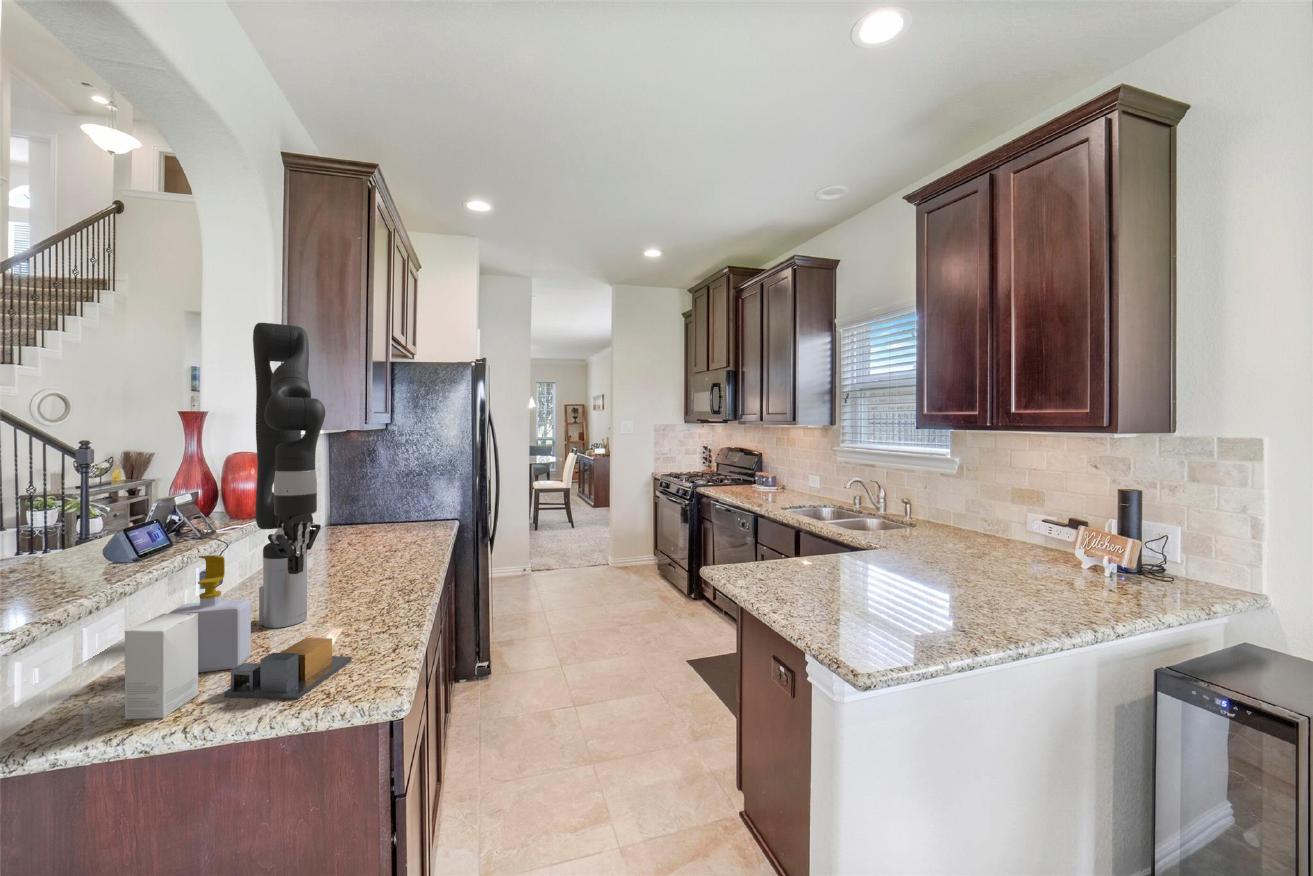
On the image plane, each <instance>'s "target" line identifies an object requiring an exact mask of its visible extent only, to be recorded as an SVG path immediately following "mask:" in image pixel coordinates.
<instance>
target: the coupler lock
mask: <svg viewBox="0 0 1313 876" xmlns="http://www.w3.org/2000/svg"><path fill="white" fill-rule="evenodd" d="M279 653H298V662H299V663H300V680H302V681H305V680H307V679H308V678H310V677H311V676H313V675H314V674H316V673H317V672H319V671H320V670H322V669H323V668H324V667H326V666H327V665H329V664H330V663H332V656H333V638H330V637H329V638H326V637H324V638H322V637H305V638H303V639H302V640H300V641H298V642H296V643H294V644H293V645H291V646H288V647H287V648H286V649H284V650H282V651H280V652H279Z"/></svg>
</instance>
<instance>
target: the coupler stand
mask: <svg viewBox="0 0 1313 876" xmlns="http://www.w3.org/2000/svg"><path fill="white" fill-rule="evenodd" d="M351 662H352V656H348V655H347V656H346V655H345V656H341V655H332V663H330V664H329V665H327V666H326V667H324V668H323V669H322V670H320V671H319V672H317V673H316V674H314V675H313V676H311V677H310V678H308V679H307V680H305V681H302V680H300V663H299V662H298V653H280V652H271V653H269V654H267V655H266V656H264V657H262V658H261V659H260V663H259V662H257V663H256V662H252V663H251V662H244V663H243V664H241V665H239V666H237V667H236V668H234V669H230V688H228V689H226V690H224V692H223V694H224V695H223V698H237V699H238V698H240V699H241V698H242V699H243V698H244V699H273V700H276V699H277V700H300V699H302V697H303V696H305V695H306V694H309V692H310V691H312V690H313V689H315V688H316V687H317V686H319V685H320V684H323V682H324V681H326V680H327V679H329V678H330V677H332V676H334V674H335V673H338V672H339V670H341V669H342V668H344V667H345V666H347V665H348V664H350V663H351ZM247 675H250V684H249V683H247V681H246V676H247Z"/></svg>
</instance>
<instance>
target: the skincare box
mask: <svg viewBox="0 0 1313 876" xmlns="http://www.w3.org/2000/svg"><path fill="white" fill-rule="evenodd" d="M198 695H199V672H198V613H176V614H168V613H162V614H159V615H157V616H155V617H153V618H151V619H148V620H147V621H144V622H142V623H140V624H137V625H134V626H132V627H131V628H129V629H126V630H124V718H125V719H124V720H147V719H149V720H150V719H151V720H152V719H153V720H155V719H157V720H158V719H165V718H167V716H169V715H171V714H172V713H173V712H174V711H176V710H178V709H179V708H181V707H182V706H184V705H185V704H187V703H188V702H189V701H191V700H193V699H194V698H195V697H197V696H198Z"/></svg>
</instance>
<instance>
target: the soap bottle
mask: <svg viewBox="0 0 1313 876" xmlns="http://www.w3.org/2000/svg"><path fill="white" fill-rule="evenodd" d="M198 558H199V559H203V560H205V577H204V578H203V579H200V580H198V581H197V584H198V585H201V588H204V592H202V593H200V594H199V602H190V603H184V604H182V605H179V606H178V607H176V608H175V609H173V610H171V611H169V612H167V614H176V613H198V673H204V672H205V673H207V672H214V671H215V672H216V671H222V670H223V671H224V670H232V669H234V668H236V667H237V666H239V665H241V664H243V663H246V661H247V660H248V659H249V658H250V656H251V655H252V654H251V653H252V652H251V651H252V643H251V640H252V633H251V632H252V631H251V630H252V629H251V628H252V626H251V625H252V624H251V623H252V622H251V620H252V618H251V617H252V616H251V614H252V611H251V610H252V608H251V607H252V605H251V604H252V603H251V599H247V598H246V599H245V598H244V599H230V600H222V591H221V590H217V589H216V588H217V587H218V586H219V585H220V581H221V580H223V579H224V578H225V573H226V572H225V563H226V562H225V556H224V555H216V554H214V555H199V556H198ZM216 586H217V587H216Z"/></svg>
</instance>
